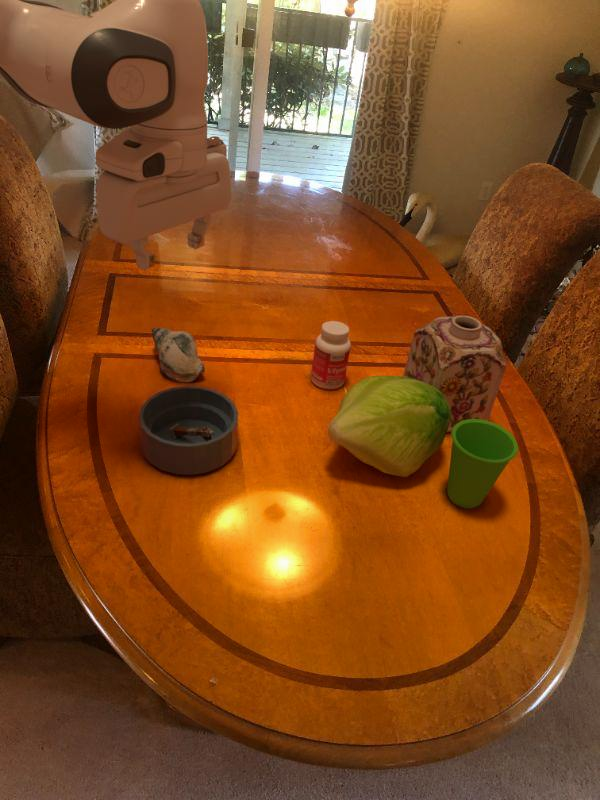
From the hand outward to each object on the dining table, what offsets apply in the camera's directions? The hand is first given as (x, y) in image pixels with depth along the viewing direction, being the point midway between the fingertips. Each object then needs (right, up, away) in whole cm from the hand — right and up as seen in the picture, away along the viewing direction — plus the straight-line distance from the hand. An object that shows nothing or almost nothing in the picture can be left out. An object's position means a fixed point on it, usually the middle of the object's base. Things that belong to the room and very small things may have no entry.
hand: (171, 256), depth 81 cm
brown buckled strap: (+1, -26, +12) cm, 28 cm away
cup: (+41, -33, +10) cm, 53 cm away
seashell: (-5, -13, +30) cm, 33 cm away
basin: (0, -26, +13) cm, 29 cm away
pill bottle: (+22, -16, +30) cm, 40 cm away
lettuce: (+29, -28, +15) cm, 43 cm away
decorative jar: (+41, -21, +26) cm, 53 cm away
